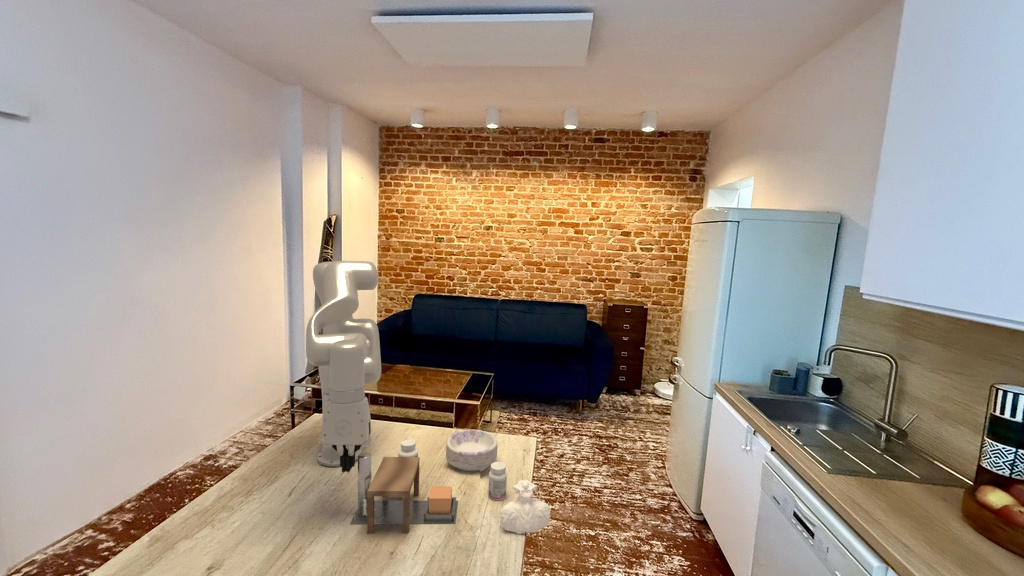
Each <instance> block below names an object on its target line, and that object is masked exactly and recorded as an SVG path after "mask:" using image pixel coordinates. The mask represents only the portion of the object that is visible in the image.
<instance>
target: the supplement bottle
mask: <svg viewBox="0 0 1024 576" xmlns="http://www.w3.org/2000/svg"><path fill="white" fill-rule="evenodd" d="M416 446H417V445H416V441H415V440H414V439H405V440H402V441H401V442H400V449H399V450H398V456H397V457H419V449H417V447H416Z"/></svg>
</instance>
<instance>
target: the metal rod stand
mask: <svg viewBox="0 0 1024 576" xmlns="http://www.w3.org/2000/svg"><path fill="white" fill-rule="evenodd" d="M371 483H372V453H371V452H368V451H365V452H364V451H363V452H362V453H360V454H359V455H358V460H357V509H356V511H355V513H354V515H353V517H352V520H351V521H350V523H349V525H350V526H352V525H358V526H359V525H367V491H368V489H369V487H370V485H371ZM458 505H459V500H457V497H455V496H452V506H451V514H429V496H428V497H427V499H426V500H410V522H409V525H456V524H457V517H458V516H457V515H458ZM375 525H379V526H380V525H381V526H382V525H386V526H387V525H403V500H374V526H375Z"/></svg>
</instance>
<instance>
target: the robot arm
mask: <svg viewBox="0 0 1024 576" xmlns="http://www.w3.org/2000/svg"><path fill="white" fill-rule="evenodd" d="M312 280H313V285H314V289H315V292H316V294H317V298H318V299H319V301H320V304H321V306H320V307H318V308H317V310H315V311H314V312H313V314H312V315H311V317H310V318H309V320H308V322H307V325H306V331H305V354H306V360H307V362H308V363H309V365H312V366H315V367H318V375H319V381H320V387H321V389H320V390H321V400H322V405H321V406H322V425H321V439H319V440H318V444H319V445H321V451H319V452H318V454H317V456H316V460H317V463H318V464H319V465H320V466H321V465H322V466H323V467H324V466H325V467H333V468H334V467H335V468H336V467H340V468H341V473H345V472H346V473H350V472H351V470H352V469H353V468H354V467H355V465H356V461H358V455H359V454H360V453H363V449H362V448H367V447H369V446H371V444H372V438H371V433H372V419H371V412H370V404H369V399H368V397H367V396H366V394H365V393H366V392H365V389H366V387H365V385H371V384H375V383H377V382H378V381H380V380H381V377H382V360H381V359H382V357H381V344H380V333H379V326H378V324H377V322H376V321H375V320H374V319H371V318H354V317H353V316H354V313H355V312H357V311H358V309H359V305H360V304H359V294H358V291H372V290H375V289H376V288H377V287H378V286H377V285H378V282H379V274H378V269H377V267H376V265H375V263H374V262H372V261H368V260H367V261H366V260H364V261H363V260H336V261H335V260H334V261H322V262H319V263H317V264H316V265H314V267H313V269H312ZM321 330H322V331H323V333H322V334H319V333H320V332H321Z"/></svg>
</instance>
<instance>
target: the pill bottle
mask: <svg viewBox="0 0 1024 576" xmlns="http://www.w3.org/2000/svg"><path fill="white" fill-rule="evenodd" d="M506 466H507V465H506V463H504V462H503V461H494V462H493V463H492V464H490V471H489V473H488V491H487V492H488V493H487V494H488V497H489V498H490V499H491V500H492V501H502V500H505V498H507V486H508V485H507V484H508V483H507V481H508V473H507V471H506V469H507V467H506Z"/></svg>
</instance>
